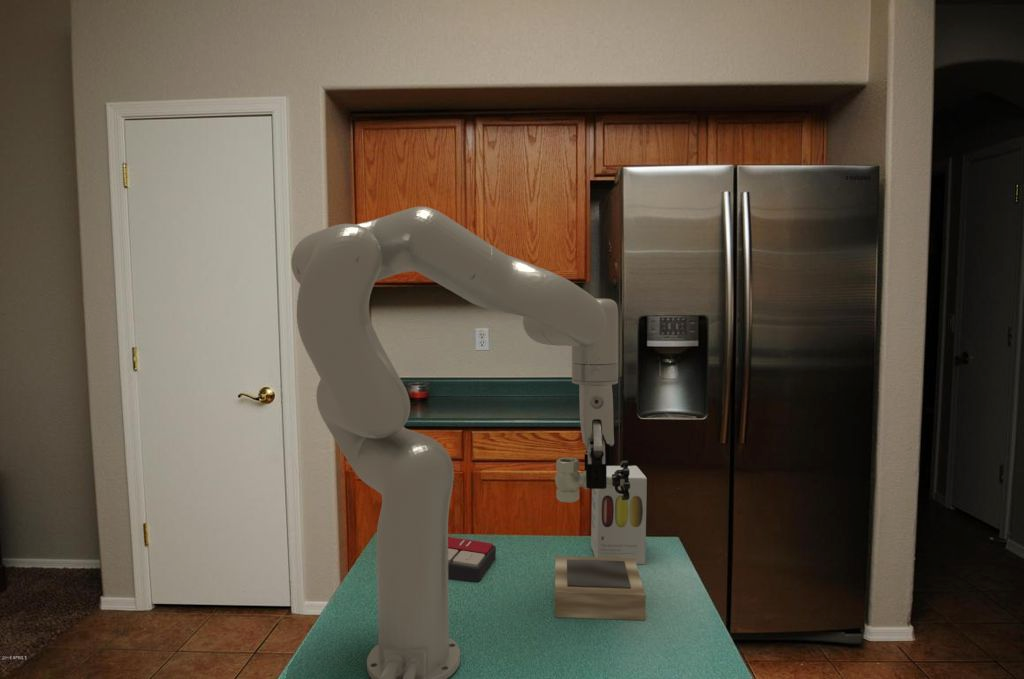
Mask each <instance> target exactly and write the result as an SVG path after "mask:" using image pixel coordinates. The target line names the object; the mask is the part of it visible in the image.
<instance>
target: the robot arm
mask: <svg viewBox="0 0 1024 679" xmlns="http://www.w3.org/2000/svg"><path fill="white" fill-rule="evenodd" d="M290 261H291V270H292V273H293V276H294V278H295V280H296V281H297V283H298V284H299V288H298V294H297V300H296V323H297V328H298V333H299V336H300V339H301V342H302V345H303V347H304V349H305V351H306V353H307V355H308V357H309V358H310V360H311V362H312V364H313V366H314V368H315V370H316V373H317V375H318V376H319V378H320V380H319V382H318V384H317V389H316V395H315V396H316V404H317V408H318V409H317V410H318V411H319V414H320V416H321V419H322V420H323V422H324V424H325V426H326V427H327V430H329V433H330V434H331V436H332V437H333V439H334V441H335V442H336V444H337V445H338V447H339V449H340V450H341V452H342V454H343V455H344V457H345V459H346V460H347V462H348V464H349V465H350V466H351V468H352V471H354V473H355V474H356V475H357V477H358V478H359V479H360V480H361V481H362V482H364V484H366V485H367V486H369V487H370V488H371V489H372V490H373V489H374V490H375V491H376V492H378V493H379V494H380V495H381V498H382V499H381V500H382V501H381V506H380V507H381V508H380V513H379V516H378V521H377V527H376V561H377V562H376V563H377V564H376V565H377V566H376V569H377V570H376V572H377V578H376V579H377V628H378V629H377V633H378V634H377V635H378V636H377V638H378V640H377V641H378V644H376V645H375V646H374V647H373V648H372V649H371V650H370V652H369V653H368V655H367V659H366V671H367V674H368V676H369V677H370V678H371V679H449V678H450V677H451V676H452V675H453V674H454V673H455V672H456V671H457V670H458V669H459V666H460V664H461V650H460V647H459V645H458V643H457V642H456V641H455V640H454V639H452V638H451V637H450V621H449V620H450V613H449V610H450V607H449V605H450V604H449V602H450V601H449V598H450V597H449V579H448V537H449V514H450V504H451V497H452V493H453V488H454V481H455V480H454V478H455V472H454V465H453V461H452V458H451V456H450V455H449V452H448V450H447V449H446V448H445V447H444V446H443V445H442V444H441V443H440V442H439V441H437V440H436V439H434V438H432V437H431V436H428V435H426V434H424V433H420V432H418V431H415V430H412V429H408V428H406V427H405V425H406V423H407V422H408V419H409V416H410V414H411V400H410V395H409V394H408V390H407V388H406V386H405V385H404V382H403V381H402V379H401V378H400V376H399V374H398V372H397V370H396V368H395V367H394V364H393V363H392V361H391V360H390V357H389V356H388V354H387V352H386V350H385V349H384V347H383V345H382V343H381V341H380V339H379V337H378V334H377V332H376V330H375V328H374V326H373V323H372V320H371V316H370V315H371V314H370V299H371V294H372V291H373V288H374V285H375V283H376V282H377V281H380V280H383V279H387V278H390V277H393V276H395V275H398V274H402V273H408V272H416V273H418V274H420V275H422V276H424V277H426V279H427V278H428V279H429V280H431V281H433V282H435V283H436V284H438V285H440V286H442V287H444V289H447V290H448V291H450V292H452V293H454V294H455V295H457V296H458V297H461V298H462V299H464V300H466V301H467V302H469V303H471V304H473V305H475V306H478V307H482V308H484V309H486V310H490V311H493V312H500V313H504V314H505V313H506V314H511V315H512V314H513V315H516V316H520V317H522V325H523V329H524V331H525V333H526V335H527V336H528V337H529V338H530V339H532V340H533V341H535V342H536V343H538V344H542V345H546V346H547V345H548V346H563V347H565V346H566V347H571V383H572V384H574V385H579V388H578V391H579V392H578V394H579V399H578V400H579V419H580V420H579V421H580V422H579V423H580V432H581V437H582V442H583V445H585V453H584V471H586V487H587V488H588V489H587V490H592V489H605V488H606V487H607V473H606V466H607V462H606V444H607V445H609V446H610V447H613V446H614V444H615V435H614V434H615V433H614V398H613V396H614V394H613V385H616V384H618V383H619V309H618V308H619V307H618V304H617V302H616V300H613V299H612V298H595V297H594V296H593V295H592V294H590V292H588V291H586V290H584V288H581V287H580V286H579V285H577V284H575V282H572V281H571V280H569V279H567V278H565V277H563V276H561V275H559V274H557V273H556V272H555V273H554V272H552V271H551V270H548V269H545V268H541V267H540V266H537V265H535V264H532V263H529V262H527V261H525V260H522V259H520V258H518V257H517V258H516V257H515V256H511V255H508V254H506V253H505V252H503V251H501V250H499V249H498V248H496V247H495V246H493V245H491V244H490V243H488V242H487V241H485V240H484V239H483V238H481V237H479V236H478V235H476V234H475V233H473V232H472V231H471V230H469V229H467V228H466V227H464V226H463V225H461V224H460V223H458V222H456V221H455V220H453V219H452V218H451V217H449V216H447V215H446V214H444V213H442V212H441V211H439V210H436V209H435V208H431V207H428V206H422V205H421V206H415V207H414V206H413V207H410V208H406V209H404V210H400V211H398V212H394V213H391V214H389V215H385V216H382V217H378V218H375V219H372V220H368V221H365V222H360V223H356V224H355V223H354V224H353V223H340V224H335V225H332V226H330V227H326V228H323V229H321V230H318V231H316V232H312V233H311V234H308V235H306V236H305V237H304V238H302V239H301V240H300V241H298V242H297V245H296V246H295V247H294V250H293V252H292V255H291V260H290Z"/></svg>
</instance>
